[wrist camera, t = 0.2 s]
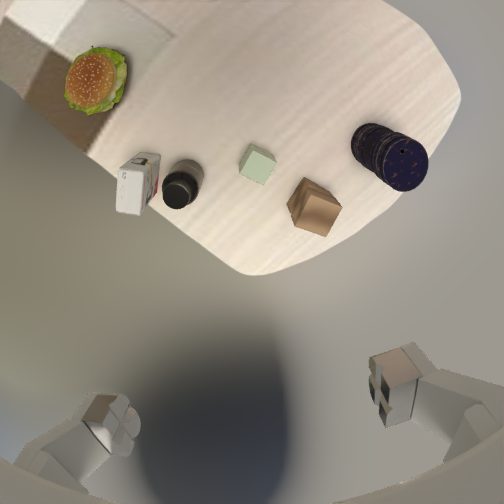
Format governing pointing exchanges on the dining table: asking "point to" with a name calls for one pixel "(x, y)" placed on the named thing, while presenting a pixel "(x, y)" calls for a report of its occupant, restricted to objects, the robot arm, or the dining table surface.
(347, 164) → the dining table surface
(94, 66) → the food
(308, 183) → the tower base
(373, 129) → the dark blue ribbed cylinder
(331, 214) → the tower top
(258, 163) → the sage block
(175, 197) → the supplement bottle
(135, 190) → the ink box
